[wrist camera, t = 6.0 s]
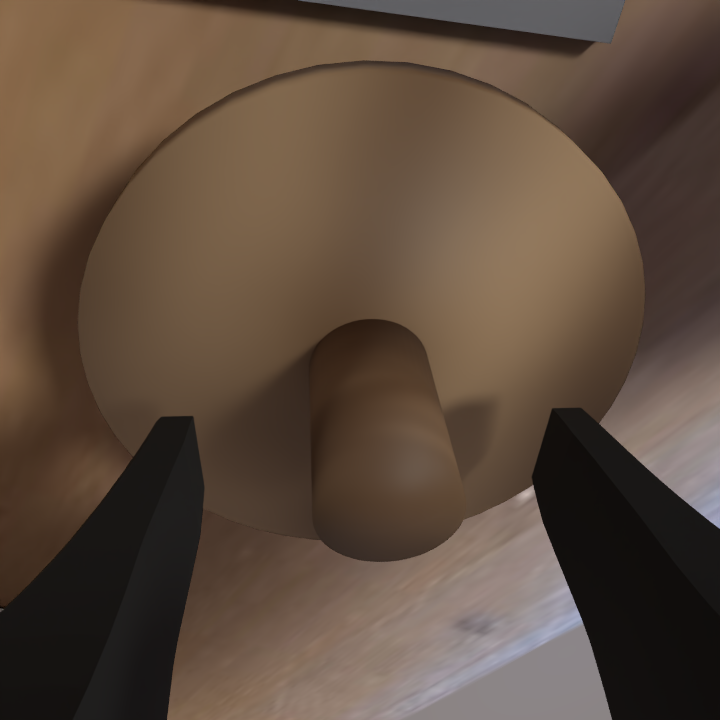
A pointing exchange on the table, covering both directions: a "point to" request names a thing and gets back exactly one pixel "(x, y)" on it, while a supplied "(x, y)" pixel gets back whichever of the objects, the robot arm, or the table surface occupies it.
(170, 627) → the robot arm
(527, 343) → the lid
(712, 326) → the table surface
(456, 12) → the mat
